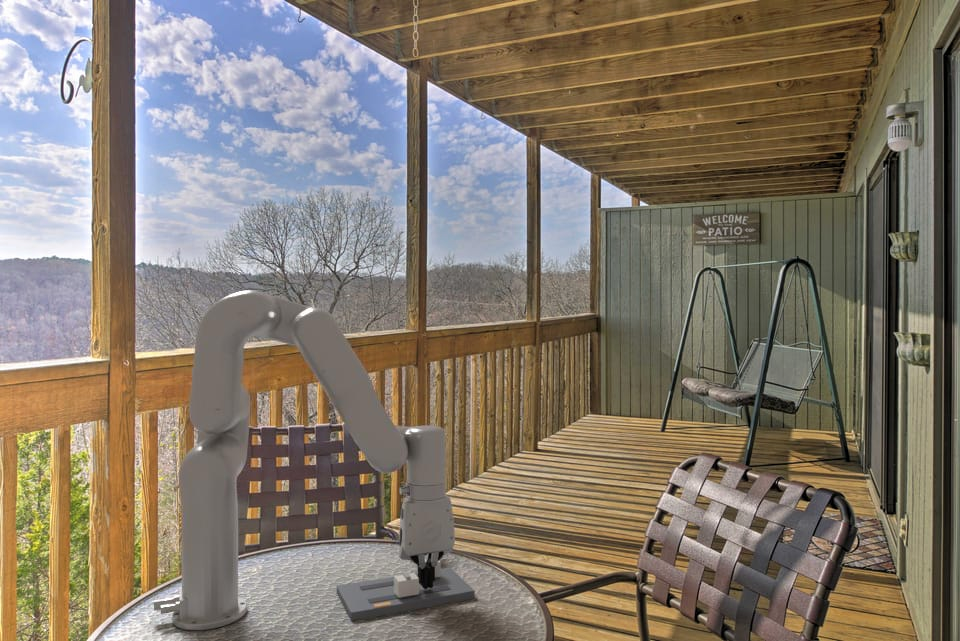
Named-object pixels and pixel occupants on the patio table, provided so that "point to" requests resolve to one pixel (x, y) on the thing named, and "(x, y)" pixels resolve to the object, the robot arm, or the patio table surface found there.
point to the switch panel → (382, 599)
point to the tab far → (437, 568)
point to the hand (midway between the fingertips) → (426, 585)
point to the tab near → (406, 584)
